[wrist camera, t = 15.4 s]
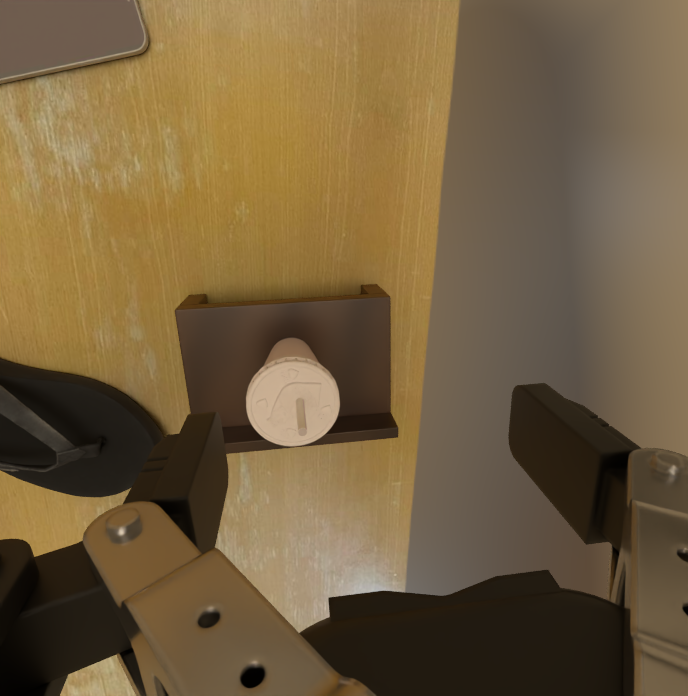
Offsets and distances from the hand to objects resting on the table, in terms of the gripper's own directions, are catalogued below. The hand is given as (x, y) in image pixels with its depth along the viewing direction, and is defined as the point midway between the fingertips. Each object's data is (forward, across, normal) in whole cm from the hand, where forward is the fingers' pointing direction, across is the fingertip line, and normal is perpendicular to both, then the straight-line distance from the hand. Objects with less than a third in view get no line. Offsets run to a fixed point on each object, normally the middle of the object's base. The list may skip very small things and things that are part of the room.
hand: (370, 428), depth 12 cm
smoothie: (+27, +3, +8) cm, 28 cm away
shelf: (+33, +3, +9) cm, 34 cm away
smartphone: (+33, +20, -20) cm, 43 cm away
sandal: (+32, +30, +10) cm, 45 cm away
